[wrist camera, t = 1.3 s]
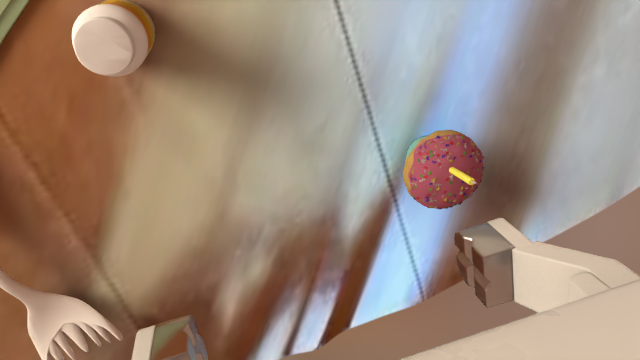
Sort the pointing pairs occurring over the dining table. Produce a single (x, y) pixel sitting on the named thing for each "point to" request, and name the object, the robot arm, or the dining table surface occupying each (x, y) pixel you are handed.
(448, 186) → the cupcake
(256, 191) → the dining table surface
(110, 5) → the supplement bottle
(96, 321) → the white spork utensil
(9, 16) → the placemat
